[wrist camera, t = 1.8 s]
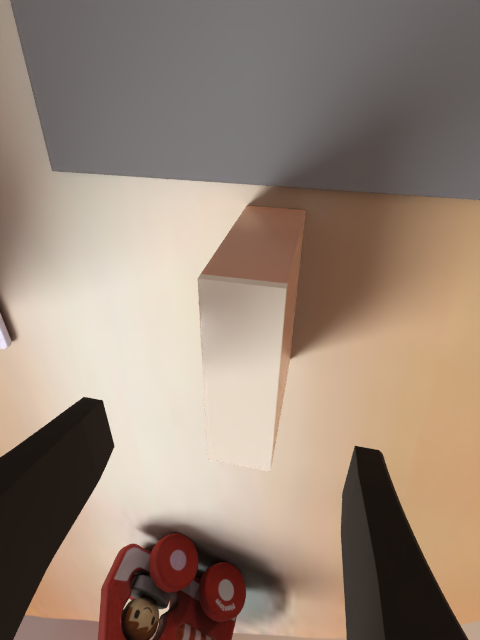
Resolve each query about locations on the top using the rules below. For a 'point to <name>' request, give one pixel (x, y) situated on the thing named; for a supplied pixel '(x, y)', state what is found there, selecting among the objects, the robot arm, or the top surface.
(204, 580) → the toy fire truck
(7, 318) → the top surface
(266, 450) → the block
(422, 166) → the mat
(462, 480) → the top surface
